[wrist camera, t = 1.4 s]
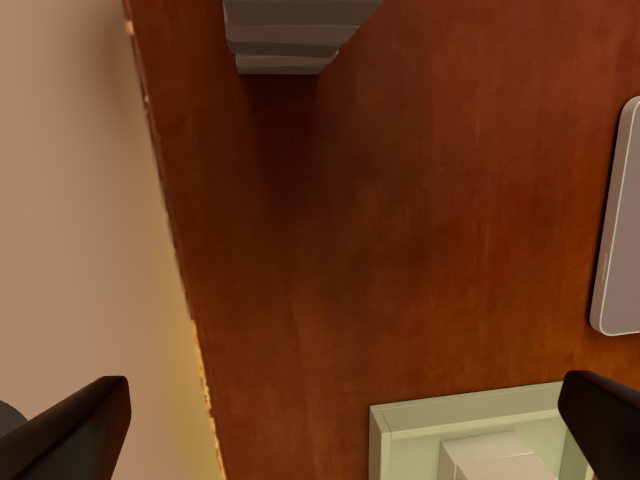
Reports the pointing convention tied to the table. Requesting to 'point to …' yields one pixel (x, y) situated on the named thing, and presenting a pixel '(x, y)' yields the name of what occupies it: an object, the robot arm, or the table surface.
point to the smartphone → (621, 236)
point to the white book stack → (491, 459)
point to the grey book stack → (291, 32)
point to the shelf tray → (471, 430)
